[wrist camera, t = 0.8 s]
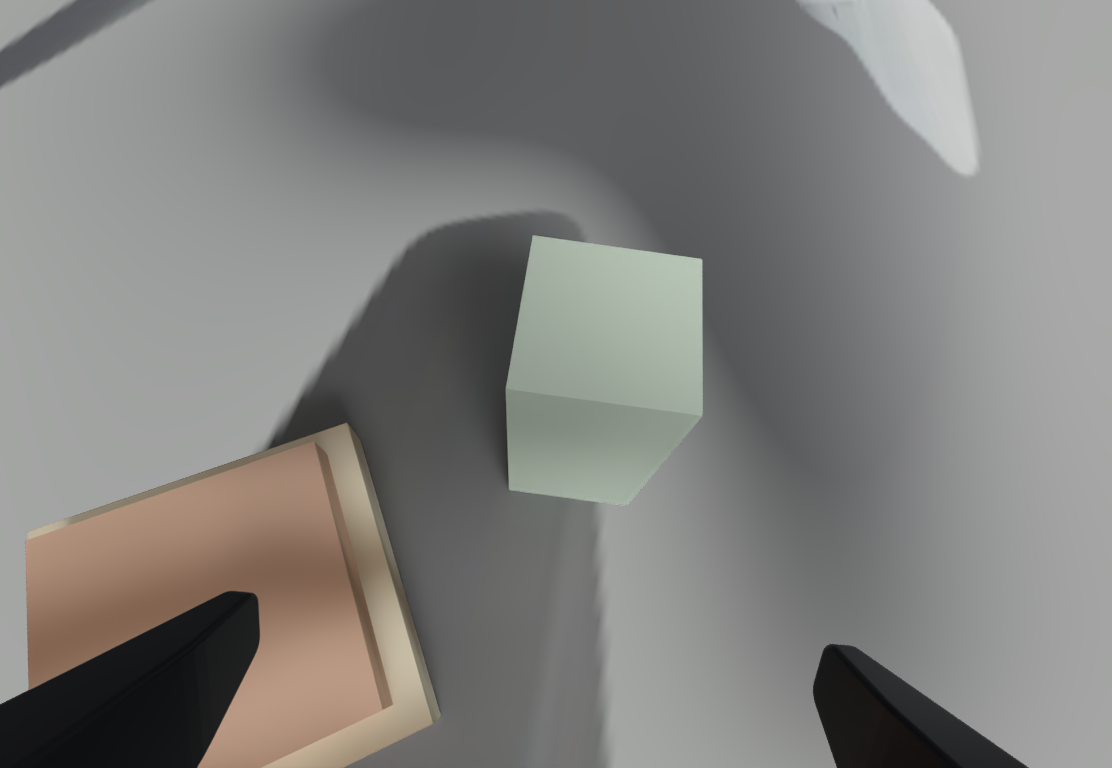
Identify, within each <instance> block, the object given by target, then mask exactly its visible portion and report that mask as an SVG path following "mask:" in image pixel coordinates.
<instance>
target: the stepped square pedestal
mask: <svg viewBox="0 0 1112 768" xmlns="http://www.w3.org/2000/svg"><path fill="white" fill-rule="evenodd" d="M27 534H28V535H27V537H28V540H26V541H25V545H26V591H27V630H28V631H27V634H28V677H29V690H30V689H32V688H34V687H36V686H38V685H40V684H42V683H44V682H46V681H48V680H50V679H52V678H54V677H56V676H58V675H60V674H62V673H64V672H66V671H68V670H70V669H72V668H74V667H76V666H78V665H80V664H82V663H84V662H86V661H88V660H90V659H92V658H94V657H96V656H98V655H100V654H102V653H104V652H106V651H108V650H110V649H112V648H114V647H116V646H118V645H120V644H122V643H124V642H126V641H128V640H130V639H132V638H134V637H136V636H138V635H140V634H142V633H144V632H146V631H148V630H150V629H152V628H154V627H156V626H158V625H160V624H162V623H164V622H166V621H168V620H170V619H172V618H174V617H176V616H178V615H180V614H182V613H184V612H186V611H188V610H190V609H192V608H194V607H196V606H198V605H200V604H202V603H204V602H206V601H208V600H210V599H212V598H214V597H216V596H218V595H220V594H222V593H224V592H226V591H243V592H252V593H254V594H256V595H257V598H258V602H259V622H260V642H259V646H258V650H257V652H256V655H255V657H254V659H253V661H252V663H251V665H250V667H249V669H248V671H247V673H246V675H245V677H244V679H243V681H242V683H241V685H240V687H239V689H238V691H237V693H236V695H235V697H234V699H233V701H232V703H231V705H230V707H229V709H228V711H227V713H226V715H225V717H224V719H223V720H222V722H221V724H220V726H219V728H218V730H217V732H216V734H215V736H214V738H213V740H212V742H211V744H210V746H209V748H208V750H207V752H206V754H205V755H204V757H203V759H202V761H201V762H200V764H199V766H198V767H197V768H343V767H345V766H348V765H350V764H352V763H354V762H356V761H358V760H360V759H362V758H364V757H366V756H368V755H370V754H372V753H374V752H376V751H378V750H380V749H382V748H384V747H386V746H388V745H390V744H393V743H395V742H397V741H399V740H401V739H403V738H405V737H407V736H409V735H411V734H413V733H415V732H417V731H419V730H421V729H423V728H425V727H427V726H429V725H431V724H433V723H434V722H435V721H436V720H437V719H438V718H439V717H440V716H441V714H440V711H439V708H438V704H437V701H436V697H435V694H434V690H433V687H432V684H431V680H430V677H429V673H428V670H427V666H426V663H425V660H424V656H423V653H422V649H421V646H420V642H419V639H418V636H417V632H416V629H415V625H414V622H413V619H412V615H411V612H410V608H409V605H408V601H407V598H406V595H405V591H404V588H403V584H402V581H401V577H400V574H399V571H398V567H397V564H396V560H395V557H394V553H393V550H392V547H391V543H390V540H389V536H388V533H387V530H386V526H385V523H384V519H383V516H382V512H381V509H380V506H379V502H378V499H377V495H376V492H375V488H374V485H373V482H372V478H371V475H370V471H369V468H368V464H367V461H366V458H365V454H364V451H363V447H362V444H361V441H360V439H359V437H358V436H357V435H356V433H355V432H354V431H353V430H352V428H351V427H350V426H349V424H348V423H344V424H341V425H338V426H335V427H333V428H330V429H327V430H324V431H321V432H318V433H315V434H312V435H309V436H306V437H303V438H300V439H297V440H294V441H292V442H289V443H286V444H283V445H280V446H277V447H274V448H271V449H268V450H265V451H262V452H259V453H256V454H254V455H251V456H248V457H245V458H242V459H239V460H236V461H233V462H230V463H227V464H224V465H222V466H218V467H216V468H213V469H210V470H207V471H204V472H201V473H198V474H195V475H193V476H189V477H186V478H183V479H180V480H178V481H175V482H172V483H169V484H166V485H163V486H160V487H157V488H154V489H151V490H148V491H146V492H143V493H140V494H137V495H134V496H131V497H128V498H125V499H122V500H119V501H116V502H113V503H110V504H108V505H105V506H102V507H99V508H96V509H93V510H90V511H87V512H84V513H81V514H78V515H75V516H72V517H69V518H66V519H64V520H61V521H58V522H55V523H52V524H49V525H46V526H43V527H40V528H38V529H34V530H32V531H29V532H27Z"/></svg>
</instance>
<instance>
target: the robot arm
mask: <svg viewBox="0 0 1112 768" xmlns="http://www.w3.org/2000/svg"><path fill="white" fill-rule="evenodd" d="M259 642H260V622H259V602H258V598H257V595H256V594H254V593H252V592H243V591H226V592H224V593H222V594H220V595H218V596H216V597H214V598H212V599H210V600H208V601H206V602H204V603H202V604H200V605H198V606H196V607H194V608H192V609H190V610H188V611H186V612H184V613H182V614H180V615H178V616H176V617H174V618H172V619H170V620H168V621H166V622H164V623H162V624H160V625H158V626H156V627H154V628H152V629H150V630H148V631H146V632H144V633H142V634H140V635H138V636H136V637H134V638H132V639H130V640H128V641H126V642H124V643H122V644H120V645H118V646H116V647H114V648H112V649H110V650H108V651H106V652H104V653H102V654H100V655H98V656H96V657H94V658H92V659H90V660H88V661H86V662H84V663H82V664H80V665H78V666H76V667H74V668H72V669H70V670H68V671H66V672H64V673H62V674H60V675H58V676H56V677H54V678H52V679H50V680H48V681H46V682H44V683H42V684H40V685H38V686H36V687H34V688H32V689H30V690H28V691H26V692H24V693H22V694H20V695H18V696H16V697H14V698H12V699H10V700H8V701H6V702H4V703H2V704H0V768H197V767H198V766H199V764H200V762H201V761H202V759H203V757H204V755H205V754H206V752H207V750H208V748H209V746H210V744H211V742H212V740H213V738H214V736H215V734H216V732H217V730H218V728H219V726H220V724H221V722H222V720H223V719H224V717H225V715H226V713H227V711H228V709H229V707H230V705H231V703H232V701H233V699H234V697H235V695H236V693H237V691H238V689H239V687H240V685H241V683H242V681H243V679H244V677H245V675H246V673H247V671H248V669H249V667H250V665H251V663H252V661H253V659H254V657H255V655H256V652H257V650H258V646H259ZM813 696H814V701H815V704H816V707H817V710H818V713H819V716H820V719H821V722H822V725H823V728H824V731H825V734H826V737H827V740H828V743H829V746H830V749H831V752H832V754H833V758H834V760H835V763H836V766H837V768H1028V767H1027V766H1026V765H1024V764H1023V763H1021V762H1020V761H1018V760H1017V759H1016V758H1014V757H1013V756H1011V755H1010V754H1008V753H1007V752H1005V751H1004V750H1003V749H1001V748H1000V747H998V746H997V745H995V744H994V743H993V742H991V741H990V740H988V739H987V738H985V737H984V736H982V735H981V734H979V733H978V732H977V731H975V730H974V729H972V728H971V727H970V726H968V725H967V724H965V723H964V722H962V721H961V720H959V719H958V718H957V717H955V716H954V715H952V714H951V713H949V712H948V711H947V710H945V709H944V708H942V707H941V706H939V705H938V704H936V703H935V702H934V701H932V700H931V699H929V698H928V697H926V696H925V695H923V694H922V693H921V692H919V691H918V690H916V689H915V688H913V687H912V686H911V685H909V684H908V683H906V682H905V681H903V680H902V679H901V678H899V677H898V676H896V675H895V674H893V673H892V672H891V671H889V670H888V669H886V668H885V667H883V666H882V665H880V664H879V663H878V662H876V661H875V660H873V659H872V658H870V657H869V656H867V655H866V654H864V653H863V652H862V651H860V650H859V649H857V648H856V647H853V646H849V645H837V644H829V645H827V646H826V647H825V648H824V650H823V653H822V656H821V660H820V663H819V667H818V670H817V674H816V678H815V681H814V685H813Z"/></svg>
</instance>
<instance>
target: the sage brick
mask: <svg viewBox="0 0 1112 768" xmlns="http://www.w3.org/2000/svg"><path fill="white" fill-rule="evenodd" d="M702 366H703V363H702V259H697V258H690V257H683V256H676V255H669V254H662V253H655V252H647V251H640V250H634V249H626V248H619V247H612V246H605V245H598V244H591V243H584V242H577V241H570V240H563V239H556V238H549V237H541V236H534V235H533V237H532V243H531V249H530V254H529V260H528V265H527V271H526V277H525V282H524V288H523V294H522V299H521V305H520V311H519V316H518V322H517V328H516V333H515V339H514V345H513V350H512V356H511V362H510V367H509V373H508V379H507V384H506V414H507V445H508V475H509V490H513V491H520V492H528V493H535V494H542V495H550V496H557V497H565V498H572V499H579V500H587V501H594V502H602V503H609V504H617V505H624V506H627V505H628V504H629V503H630V502H631V500H632V499H633V498H634V497H635V496H636V494H637V493H638V492H639V491H640V490H641V489H642V487H643V486H644V485H645V484H646V483H647V481H648V480H649V479H650V478H651V477H652V476H653V474H654V473H655V472H656V471H657V469H658V468H659V467H660V466H661V465H662V464H663V462H664V461H665V460H666V459H667V458H668V456H669V455H670V454H671V453H672V452H673V451H674V449H675V448H676V447H677V446H678V444H679V443H680V442H681V441H682V440H683V439H684V437H685V436H686V435H687V434H688V433H689V431H690V430H691V429H692V428H693V427H694V426H695V424H696V423H697V422H698V421H699V420H700V418H701V417H702V416H703V381H702V380H703V373H702V372H703V371H702V370H703V368H702Z"/></svg>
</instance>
